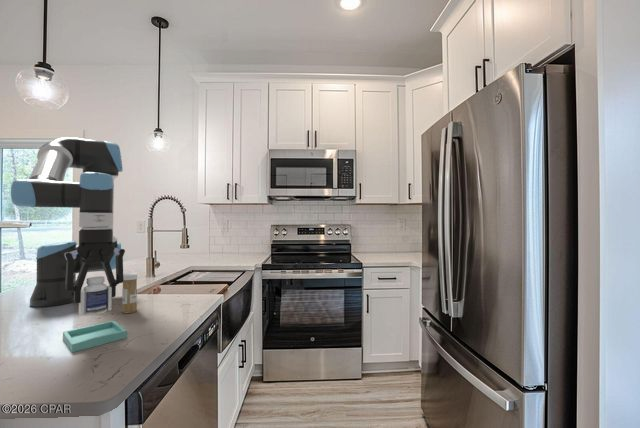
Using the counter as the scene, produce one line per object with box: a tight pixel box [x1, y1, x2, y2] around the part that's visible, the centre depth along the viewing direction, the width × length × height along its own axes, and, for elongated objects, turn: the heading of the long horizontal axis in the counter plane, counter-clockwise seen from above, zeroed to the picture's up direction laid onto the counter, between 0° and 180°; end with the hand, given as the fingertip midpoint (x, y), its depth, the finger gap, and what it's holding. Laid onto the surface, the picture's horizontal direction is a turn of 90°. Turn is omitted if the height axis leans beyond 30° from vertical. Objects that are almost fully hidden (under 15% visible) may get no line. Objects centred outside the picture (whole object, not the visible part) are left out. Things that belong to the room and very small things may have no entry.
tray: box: [62, 320, 128, 353], centre depth 82 cm, size 12×12×2 cm
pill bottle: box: [82, 275, 108, 316], centre depth 82 cm, size 5×5×10 cm
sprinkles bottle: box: [121, 272, 138, 314], centre depth 105 cm, size 5×5×14 cm
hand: (95, 311), depth 82 cm, fingers closed on pill bottle, 5 cm apart
